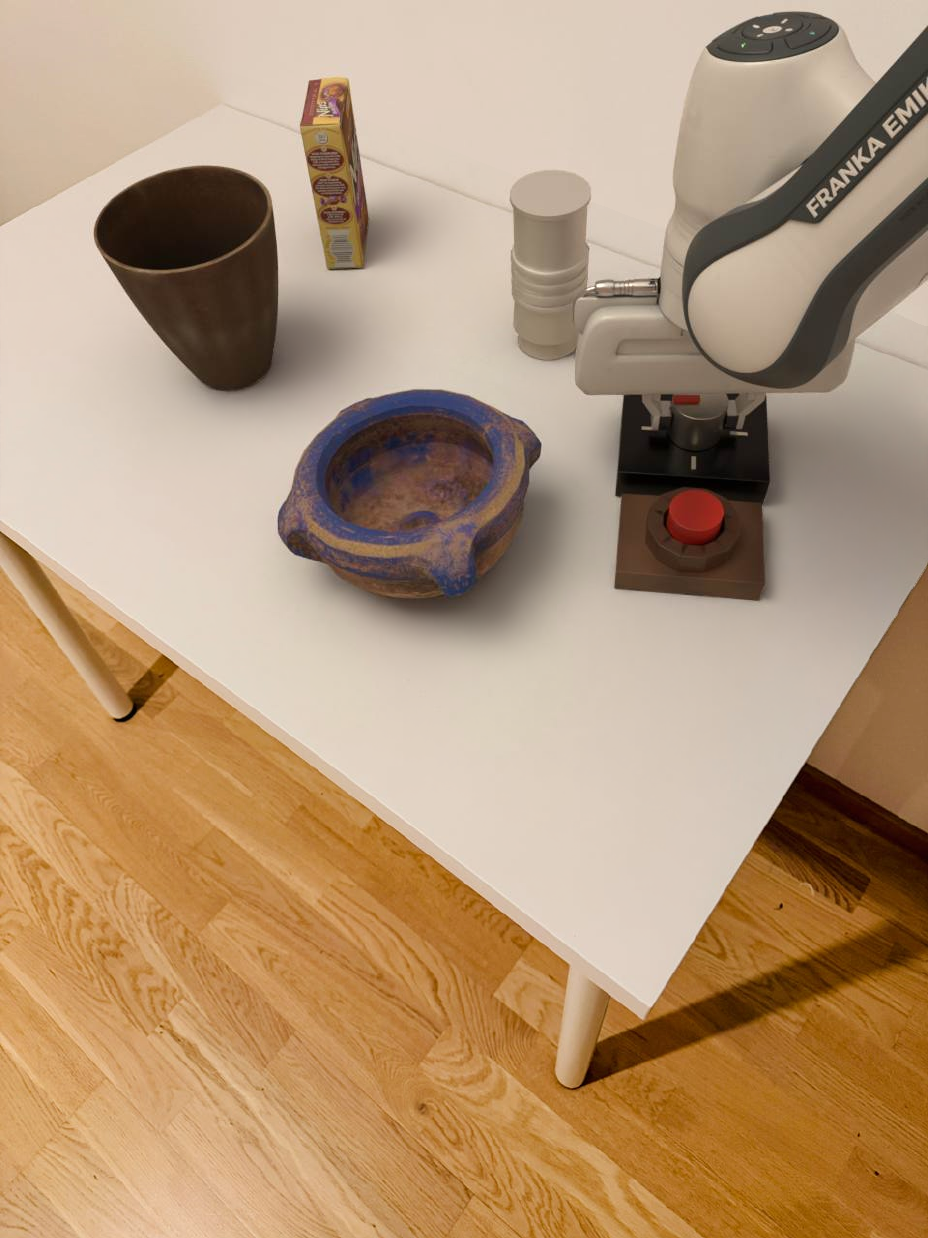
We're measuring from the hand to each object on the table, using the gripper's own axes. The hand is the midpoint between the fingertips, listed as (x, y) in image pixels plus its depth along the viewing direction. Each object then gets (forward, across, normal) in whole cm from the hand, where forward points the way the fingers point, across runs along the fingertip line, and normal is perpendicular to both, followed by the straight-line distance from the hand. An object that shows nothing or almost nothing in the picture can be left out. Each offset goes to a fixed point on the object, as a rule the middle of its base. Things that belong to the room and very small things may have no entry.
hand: (695, 424), depth 74 cm
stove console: (+4, 0, 0) cm, 4 cm away
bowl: (+4, -22, -10) cm, 25 cm away
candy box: (+4, -34, +32) cm, 47 cm away
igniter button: (0, -1, -10) cm, 10 cm away
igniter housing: (+4, -1, -10) cm, 11 cm away
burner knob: (+1, 0, 0) cm, 1 cm away
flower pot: (+4, -43, +12) cm, 45 cm away
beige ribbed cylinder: (+4, -12, +16) cm, 20 cm away
